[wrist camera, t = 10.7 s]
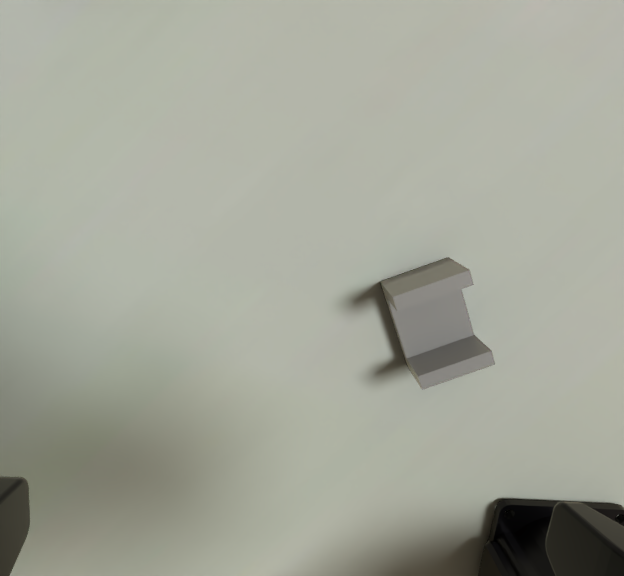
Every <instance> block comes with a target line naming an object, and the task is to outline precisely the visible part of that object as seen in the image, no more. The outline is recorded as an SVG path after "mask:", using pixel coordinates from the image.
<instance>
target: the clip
mask: <svg viewBox="0 0 624 576" xmlns="http://www.w3.org/2000/svg"><path fill="white" fill-rule="evenodd" d="M380 283H381V286H382V289H383V292H384V295H385V299H386V302H387V305H388V308H389V311H390V314H391V317H392V320H393V323H394V326H395V330H396V333H397V336H398V339H399V342H400V345H401V348H402V351H403V354H404V358H405V361H406V364H407V366H408V368H409V369H410V371H411V373H412V374H413V376H414V377H415V379H416V381H417V382H418V384H419V385H420V387H421V389H422V390H423V389H426V388H429V387H432V386H434V385H437V384H440V383H443V382H446V381H449V380H452V379H454V378H457V377H460V376H463V375H466V374H469V373H472V372H475V371H477V370H480V369H483V368H486V367H489V366H492V365H495V362H494V358H493V354H492V351H491V350H490V349H489V348H488V347H487V346H486V345H485V344H484V343H482V342H481V341H480V340H479V339H478V338H477V337H476V336H475V335H474V333H473V329H472V325H471V322H470V318H469V315H468V311H467V307H466V304H465V300H464V297H463V293H462V289H463V288H466V287H469V286H472V285H474V284H473V280H472V277H471V273H470V270H469V269H467V268H466V267H464V266H462V265H461V264H459V263H457V262H455V261H454V260H452V259H450V258H449V257H448V258H445V259H442V260H440V261H437V262H434V263H431V264H428V265H426V266H423V267H420V268H417V269H414V270H411V271H409V272H406V273H403V274H400V275H397V276H394V277H392V278H389V279H386V280H383V281H380Z"/></svg>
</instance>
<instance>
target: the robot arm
mask: <svg viewBox="0 0 624 576" xmlns="http://www.w3.org/2000/svg"><path fill="white" fill-rule="evenodd" d="M509 509H510V511H509V512H508V513H505V511H507V510H509ZM617 515H618V516H617ZM616 516H617V517H616ZM29 525H30V510H29V487H28V483H27V480H26V479H24V478H22V477H0V576H9V575H10V573H11V571H12V569H13V566H14V564H15V562H16V560H17V557H18V555H19V553H20V551H21V548H22V546H23V544H24V542H25V539H26V537H27V534H28V531H29ZM478 576H624V507H623V506H621V505H618V504H601V503H580V502H562V501H561V502H557V501H535V500H514V499H506V500H502V501H500V502H499V503H498V504H497V506H496V508H495V513H494V518H493V522H492V527H491V531H490V536H489V540H488V542H487V543H486V545H485V547H484V551H483V556H482V561H481V565H480V570H479V574H478Z"/></svg>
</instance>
